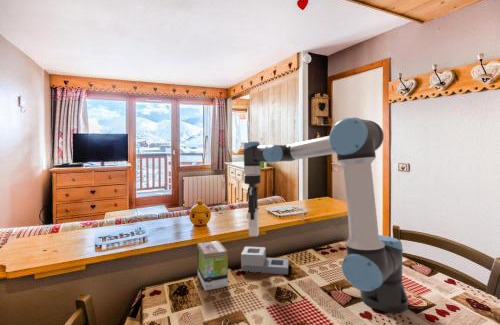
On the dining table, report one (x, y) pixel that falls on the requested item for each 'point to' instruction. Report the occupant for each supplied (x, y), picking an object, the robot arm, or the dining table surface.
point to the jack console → (262, 261)
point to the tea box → (212, 265)
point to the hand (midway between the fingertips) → (253, 224)
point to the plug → (253, 230)
